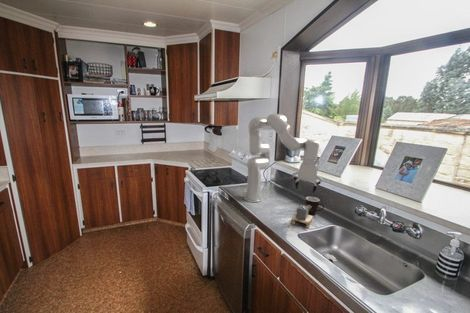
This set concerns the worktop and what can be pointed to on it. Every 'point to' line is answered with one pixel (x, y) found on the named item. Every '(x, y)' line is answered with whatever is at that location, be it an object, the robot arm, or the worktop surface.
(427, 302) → the worktop surface
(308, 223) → the stand
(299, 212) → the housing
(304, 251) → the worktop surface
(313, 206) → the coffee mug
